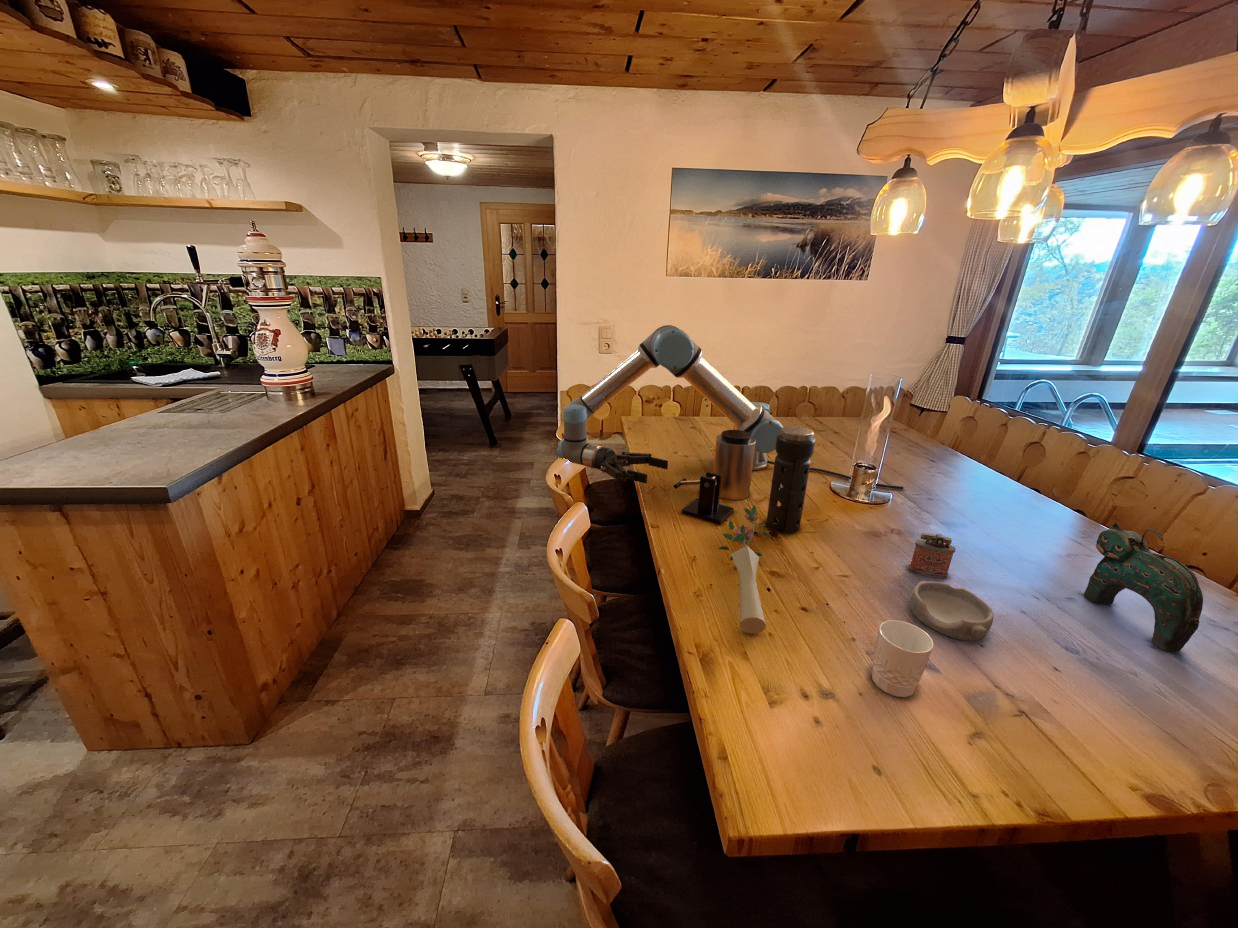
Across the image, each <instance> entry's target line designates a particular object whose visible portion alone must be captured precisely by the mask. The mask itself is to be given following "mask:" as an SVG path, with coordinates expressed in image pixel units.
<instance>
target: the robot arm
mask: <svg viewBox="0 0 1238 928" xmlns="http://www.w3.org/2000/svg"><path fill="white" fill-rule="evenodd" d="M659 366H661V367H663V368H665V369H666V370H667V371H668V372H669V373H671V374H672V376H674V377H675V378H676V379H681V378H683V379H684V380H686V381H687V383H689V384H690V385H691V386H692V387H693V388H694V389H695V390H696V391H697V392H698V393H700V394H701V396H703V397H704V398H705V399H706V400H707V401H709V402H710V403H711V404H712V405H713V406H714V407H715V408H716V409H717V410H718V411H719V412H720V413H721V414H722V415H724V416H725V417H726V418H727V419H728V420H729V421H730V422H731V423H732V424H733V428H732V430H741V431H745V432H748V433H750V434H751V437H753V438H754V439H755V440H756V443H755V452H754V460H753V468H752V471H761V470H763V469H766V468H767V467H768V464H770V465H773V466H774V463H775V461H772V460H768V455H767V454H770V453H773V452H776V449H775V448H776V441H777V436H778V434H779V433H781V428H782V427H784V426H783V425H782V422H780V421H779V420H777V419H776V418H775V417H773V416H772V414H771V413H770V410H771V409H770V404H768V403H765V402H758V401H750V400H749V399H748V398H747V397H745V395H744V394H742V393H741V392H740V391H739V390H738V389H737V388H736V387H735V386H734V385H733V384H732V383H731V382H730V381H728V380H727V378H725V377H724V376H723V375H722V374H721V373H720V372H719V371H718V370H717V368H715V367H714V366H713V365H712V364H710V363H709V362H708V360H706V359H705V358H704V357H703V349H702V348H701V347H700V346H699V345H697V344H696V343H695V341H693V339H691V337H690V336H689V334H688V333H687V332H685V331H684V330H682V329H681V328H679V327H677V326H675V325H672V324H667V325H661V326H659V327H658V328H656V329H655V330H654V331H653V332H652V333H651V334H650V335H649V336H647V337H646V338H645V340H643V341H642V342H641V343H640V344H639V345H638V346H637V350H636V351H634V352H633V353H632V354H631V355H629V356H628V357H627V358H626V359H624V360H623V361H622V362H621V363H620V364H618V365H617V366H616V367H615V368H613V369H612V370H611V371H610V372H608V374H606V375H605V376H604V377H602V378H601V379H600V380H599V381H597V382H596V383H595V384H594V385H592V386H591V387H590V388H589V389H588V390H586V391H585V392H584V393H583V394H581V395H580V396H579V397H578V398H576V399H573V400H572V401H570V402H569V403H568V405H566V406H564V408H563V414H562V415H563V416H562V419H563V438H562V439H561V440H560V441H559V442H558V444H557V447H556V455H557V458H559V459H560V458H562V459H563V458H565V459H568V460H569V461H570V462H572V463H571V464H575V465H580V466H583V467H584V466H585V467H588V468H590V469H597V470H599V471H601V472H602V473H605V474H607V475H608V476H610V477H612V478H613V479H615V480H616V481H619V482H620V481H622V482H627V480H630V481H633V482H637V483H642V484H648V474H647V473H643V472H640V471H636V470H631V469H627V470H626V469H625V468H624V467H629V466H631V465H648V466H650V467H655V468H659V469H663V470H668V469H669V460H667V459H662V458H658V457H653V454H652V453H650V452H649V453H645V452H628V451H622V452H621V453H617V454H616V453H615V451H614V450H613V448H611V447H606V446H601V445H598V444H593V443H588V442H587V440H588V439H587V435H588V434H587V433H588V432H587V430H588V429H587V427H588V426H587V425H588V419H589V418H590V417H591V416H593V414H595V413H596V412H597V411H599V410H600V409H601V408H602V407H603V406H606V404H608V403H609V402H610V401H612V399H614V398H615V397H616V396H618V395H619V394H620V393H622V391H624V390H625V389H626V388H628V387H629V386H630V385H632V384H633V383H634V382H635V381H637V380H638V379H640V377H642V376H643V375H644V374H646V373H647V372H648V371H649V370H650V369H657V368H658V367H659ZM562 459H561V460H562ZM809 471H815V472H819V473H820V472H821V473H825V474H829V475H833V476H836V477H840V478H844V479H847V480H851V477H852V476H849V475H845V474H843V473H840V472H835V471H831V470H826V469H822V468H817V467H810V469H809ZM876 483H877V484H876V485H875V487H881V488H887V489H895V490H896V489H897V490H904V486H903V485H892V484H891V485H890V484H884V483H878V482H876Z"/></svg>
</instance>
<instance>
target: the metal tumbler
mask: <svg viewBox="0 0 1238 928" xmlns="http://www.w3.org/2000/svg"><path fill="white" fill-rule="evenodd" d="M755 443H756V440H755V439H754V438H753V437H751V434H750V433H748V432H745V431H741V430H733V429H725V430H723V431H721V433H720V434H718V435H717V436H716V437H715V445H714V456H713V457H714V458H713V466H712V467H713V468H712V473H716V474H720V475H722V477H721V487H720V497H719V499H724V500H731V501H738V500H745V499H747V498H748V497H749V496H750V490H751V484H752V476H753V475H752V474H753V470H752V468H753V460H754V452H755Z"/></svg>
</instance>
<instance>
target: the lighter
mask: <svg viewBox="0 0 1238 928" xmlns="http://www.w3.org/2000/svg"><path fill="white" fill-rule="evenodd" d="M952 541H953V539H952V537H947V536H943V535H942V534H941V533H937V534H931V533H925V532H922V533H921V535H920V539H916V540H915V543H914V545H915V546H914V550H913V554H912V557H911V561H910V564H909V565H908V570H909V572H911V573H914V574H918V575H922V576H927V577H933V578H940V579H946V578H948V576H949V569H950V566H951V562H952V561H953V560H952V559H953V556H954V553H955V552H956V546H953V545H952Z"/></svg>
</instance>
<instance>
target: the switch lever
mask: <svg viewBox="0 0 1238 928" xmlns="http://www.w3.org/2000/svg"><path fill="white" fill-rule="evenodd" d="M709 478H713V479H716V476H711V477H709ZM695 485H698V486H699V485H700V479H697V480H696V479H694V480H687V478H686V477H683V478H682V479H680V480H679V481H677V482H676V483H674V484H673V486H672V487H673V489H675V490H677V489H679V488H680V487H681V486H695ZM716 485H717V480H716Z"/></svg>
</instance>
